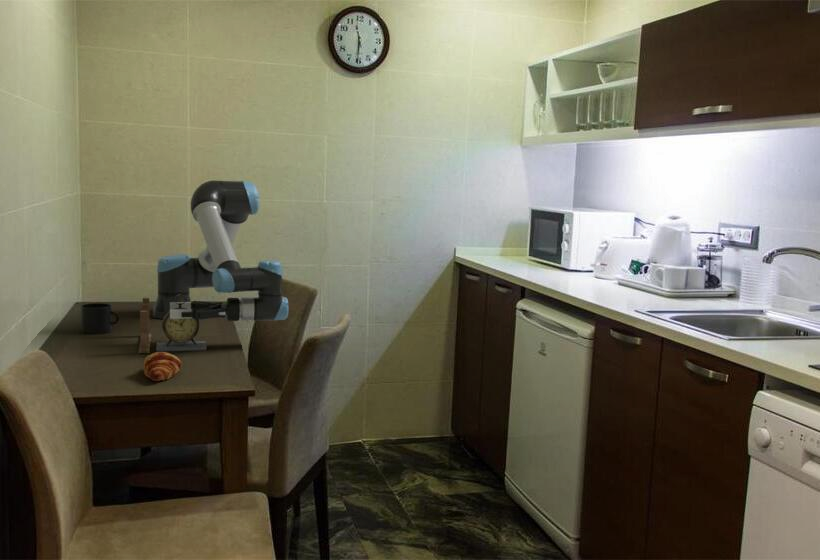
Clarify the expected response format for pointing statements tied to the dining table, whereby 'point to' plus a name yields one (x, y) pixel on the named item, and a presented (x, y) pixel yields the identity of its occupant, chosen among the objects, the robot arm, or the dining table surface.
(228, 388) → the dining table surface
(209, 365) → the dining table surface
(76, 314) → the dining table surface
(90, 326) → the mug
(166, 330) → the alarm clock
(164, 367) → the croissant
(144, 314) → the slalom posts
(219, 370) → the dining table surface
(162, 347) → the pad
